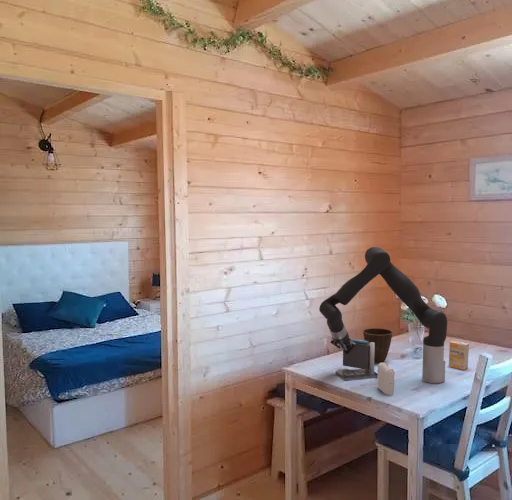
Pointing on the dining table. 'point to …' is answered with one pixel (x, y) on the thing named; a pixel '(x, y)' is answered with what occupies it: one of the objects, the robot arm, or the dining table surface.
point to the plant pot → (379, 342)
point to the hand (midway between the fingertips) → (347, 352)
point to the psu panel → (356, 374)
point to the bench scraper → (360, 355)
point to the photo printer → (385, 378)
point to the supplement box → (458, 355)
